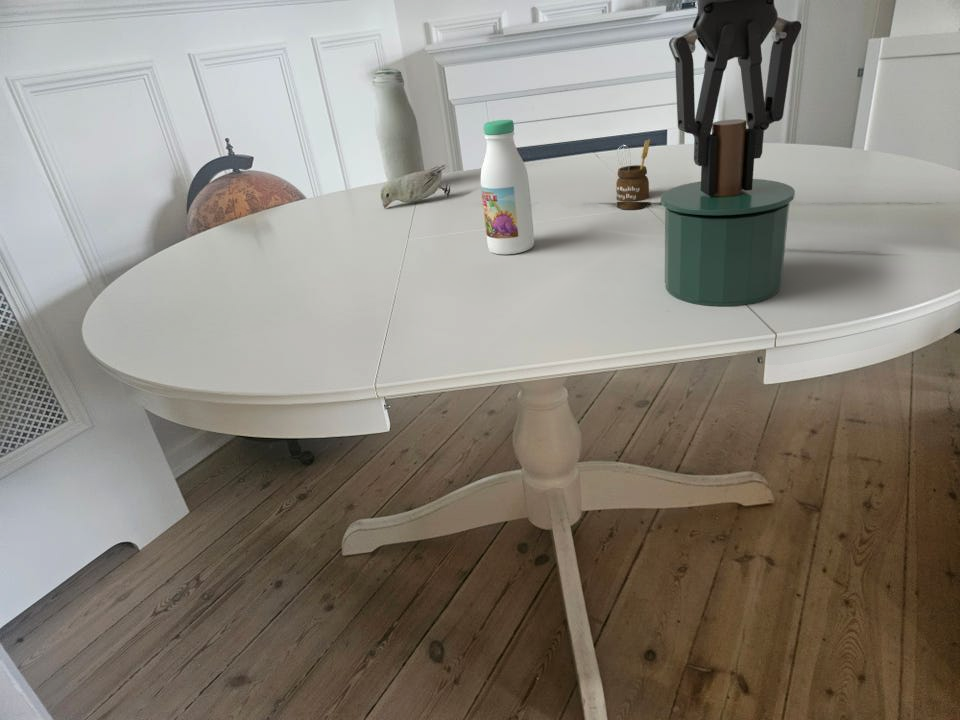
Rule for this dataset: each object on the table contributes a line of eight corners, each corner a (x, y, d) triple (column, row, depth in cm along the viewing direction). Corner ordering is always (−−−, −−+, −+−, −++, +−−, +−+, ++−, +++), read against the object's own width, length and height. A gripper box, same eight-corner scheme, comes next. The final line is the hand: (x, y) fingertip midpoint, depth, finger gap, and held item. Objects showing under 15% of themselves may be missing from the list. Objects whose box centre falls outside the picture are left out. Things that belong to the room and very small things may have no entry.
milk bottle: (514, 238, 109) (502, 116, 100) (544, 245, 104) (533, 117, 95) (479, 250, 106) (463, 125, 97) (507, 258, 100) (493, 126, 91)
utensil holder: (627, 201, 122) (625, 136, 117) (656, 203, 118) (656, 136, 113) (610, 209, 118) (608, 142, 113) (640, 211, 114) (639, 143, 109)
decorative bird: (381, 206, 145) (375, 173, 142) (449, 194, 148) (444, 161, 145) (384, 211, 141) (378, 177, 137) (454, 198, 144) (449, 165, 140)
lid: (799, 187, 77) (807, 107, 73) (787, 221, 66) (796, 130, 62) (676, 188, 84) (677, 115, 80) (646, 219, 73) (646, 137, 69)
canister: (785, 269, 82) (794, 187, 77) (773, 310, 71) (782, 219, 67) (678, 264, 88) (680, 189, 83) (653, 301, 78) (653, 218, 73)
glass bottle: (428, 183, 163) (410, 64, 150) (425, 191, 154) (404, 66, 141) (391, 187, 164) (369, 70, 151) (385, 196, 155) (361, 72, 142)
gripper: (802, -49, 67) (782, 174, 78) (646, -27, 67) (647, 192, 78) (840, -59, 60) (812, 187, 71) (666, -34, 61) (664, 207, 71)
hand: (725, 189), depth 74 cm, fingers closed on lid, 4 cm apart
